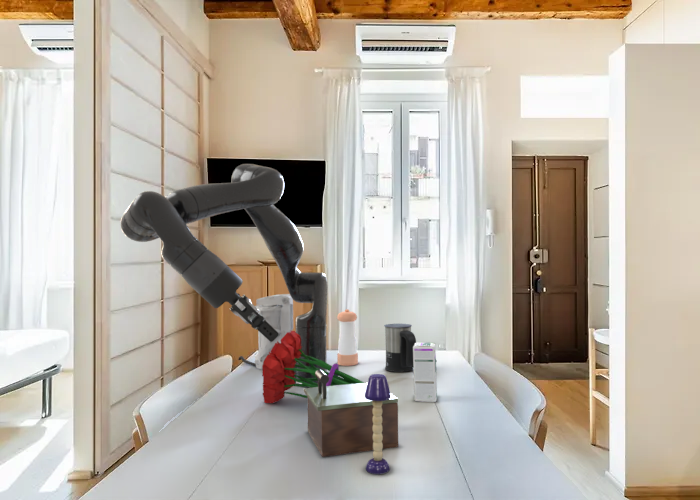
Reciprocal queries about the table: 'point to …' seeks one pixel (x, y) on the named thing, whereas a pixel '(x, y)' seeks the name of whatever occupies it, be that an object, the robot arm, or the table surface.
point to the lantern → (274, 322)
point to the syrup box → (424, 372)
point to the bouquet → (282, 370)
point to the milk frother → (399, 347)
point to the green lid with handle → (339, 394)
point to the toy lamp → (377, 421)
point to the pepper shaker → (347, 339)
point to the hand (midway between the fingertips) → (272, 334)
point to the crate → (351, 428)
